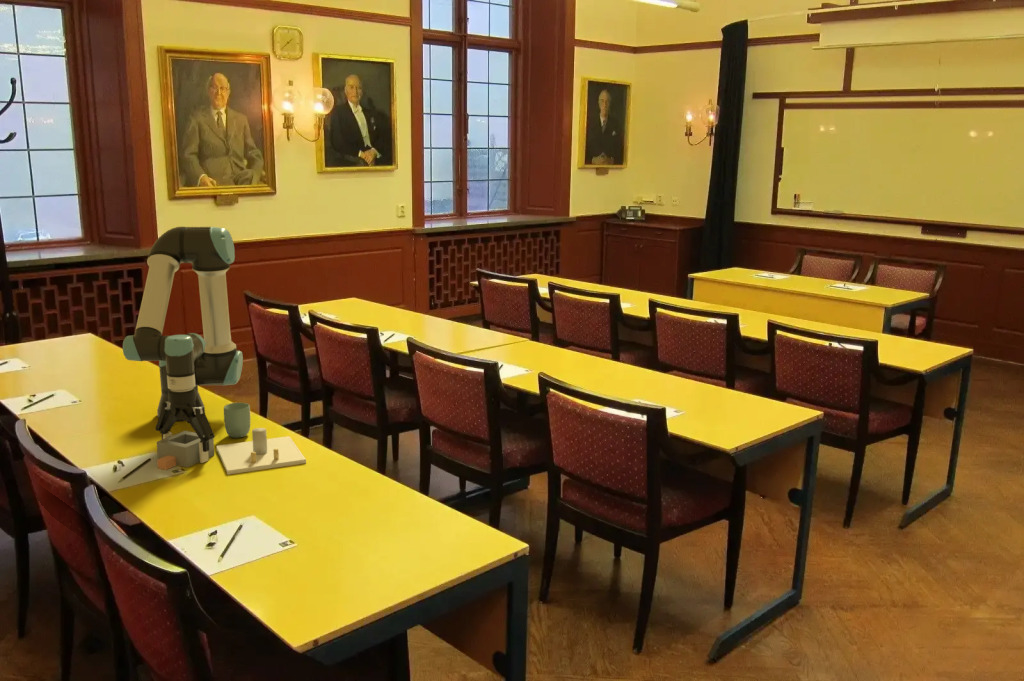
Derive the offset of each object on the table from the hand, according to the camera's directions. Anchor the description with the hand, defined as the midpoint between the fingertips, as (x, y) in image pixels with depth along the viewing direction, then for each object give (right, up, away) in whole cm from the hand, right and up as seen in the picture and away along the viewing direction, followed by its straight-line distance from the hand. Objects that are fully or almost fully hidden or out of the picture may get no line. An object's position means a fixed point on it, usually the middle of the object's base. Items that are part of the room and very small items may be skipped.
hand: (186, 458), depth 247 cm
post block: (+21, 0, +3) cm, 21 cm away
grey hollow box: (-1, 0, -2) cm, 2 cm away
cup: (+9, +4, +20) cm, 22 cm away
